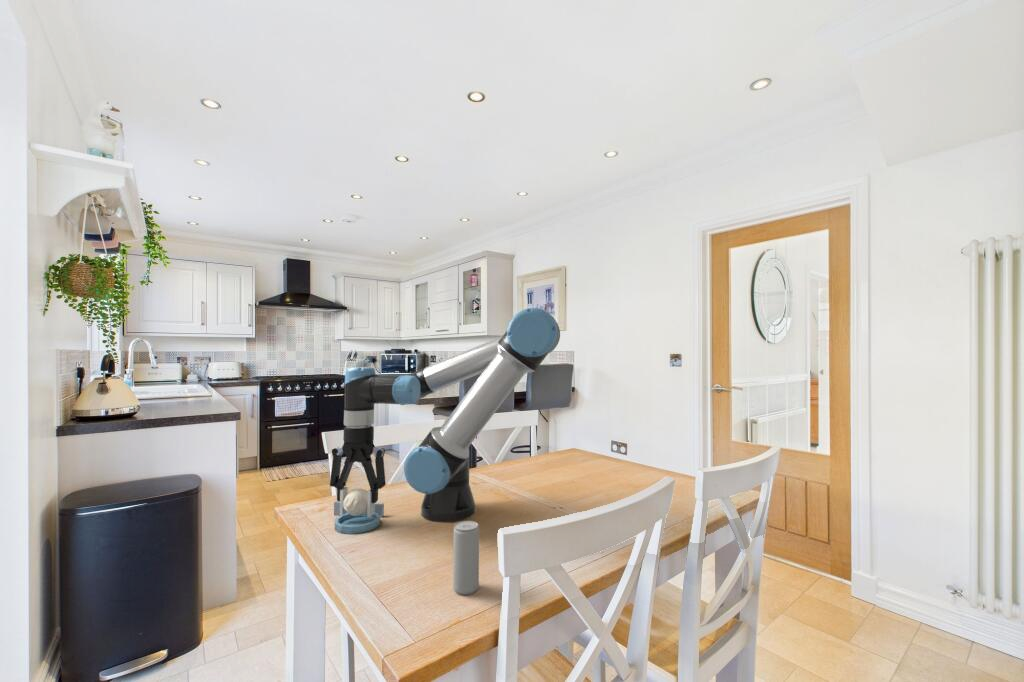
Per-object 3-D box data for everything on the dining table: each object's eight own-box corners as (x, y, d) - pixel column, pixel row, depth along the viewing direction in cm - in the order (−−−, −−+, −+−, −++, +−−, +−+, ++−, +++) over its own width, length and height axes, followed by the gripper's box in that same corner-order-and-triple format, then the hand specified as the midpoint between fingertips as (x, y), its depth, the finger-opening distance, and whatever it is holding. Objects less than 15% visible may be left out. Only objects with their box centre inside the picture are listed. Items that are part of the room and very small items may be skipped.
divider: (383, 515, 122) (383, 503, 122) (382, 517, 121) (382, 504, 121) (335, 513, 124) (335, 501, 124) (333, 515, 123) (334, 502, 123)
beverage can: (453, 583, 86) (454, 520, 87) (478, 582, 87) (478, 520, 87) (452, 596, 81) (452, 530, 82) (478, 595, 82) (479, 529, 82)
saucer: (386, 518, 120) (386, 512, 120) (368, 535, 109) (368, 527, 109) (347, 517, 121) (347, 510, 121) (326, 532, 111) (326, 525, 111)
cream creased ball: (336, 517, 113) (337, 491, 114) (356, 508, 120) (357, 484, 120) (357, 522, 111) (357, 495, 111) (376, 512, 118) (377, 487, 118)
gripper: (400, 424, 119) (398, 511, 118) (330, 422, 121) (329, 507, 120) (389, 429, 111) (387, 521, 111) (315, 427, 114) (313, 517, 113)
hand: (357, 514), depth 115 cm, fingers closed on cream creased ball, 7 cm apart
